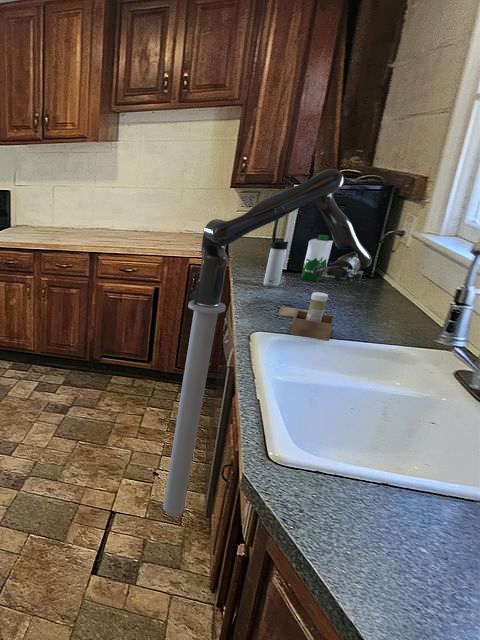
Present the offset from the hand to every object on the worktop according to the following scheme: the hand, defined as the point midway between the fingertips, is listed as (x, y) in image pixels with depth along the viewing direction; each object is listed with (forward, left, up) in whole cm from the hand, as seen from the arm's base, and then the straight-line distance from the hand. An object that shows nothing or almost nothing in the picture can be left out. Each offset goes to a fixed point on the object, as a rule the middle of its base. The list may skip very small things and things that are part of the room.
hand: (332, 276), depth 177 cm
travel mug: (-22, +50, -17) cm, 57 cm away
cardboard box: (-2, -11, -17) cm, 21 cm away
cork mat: (-8, +10, -17) cm, 21 cm away
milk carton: (-8, +75, -17) cm, 77 cm away
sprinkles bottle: (-2, -11, -17) cm, 21 cm away
